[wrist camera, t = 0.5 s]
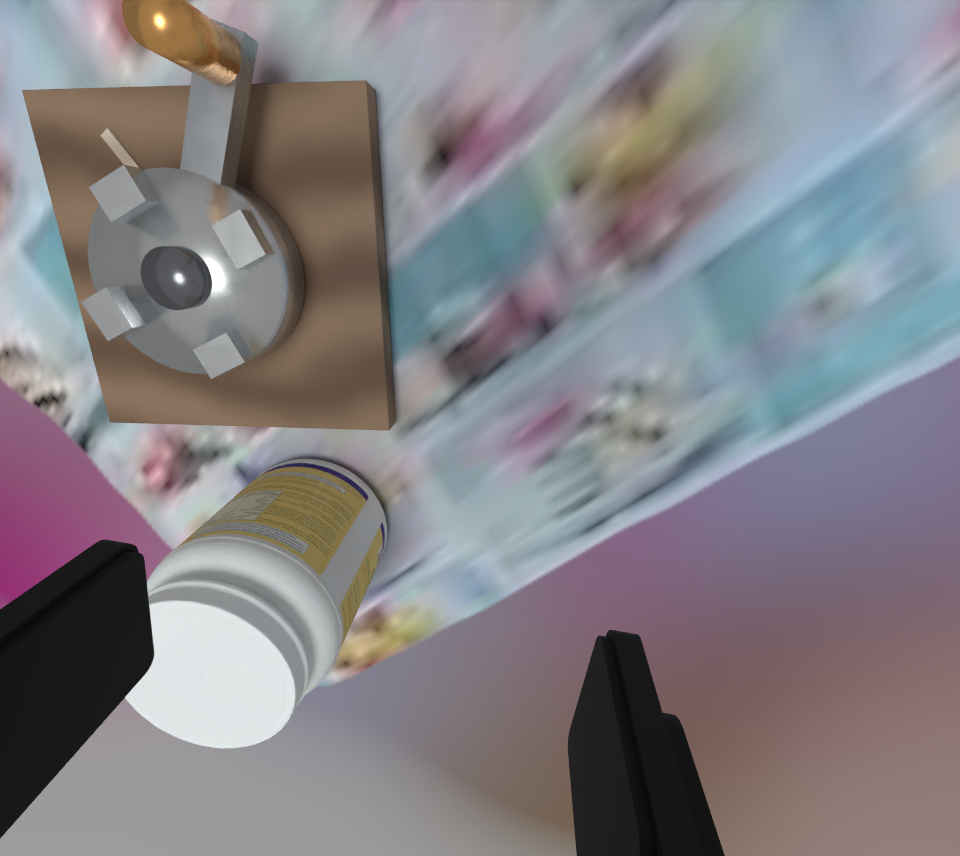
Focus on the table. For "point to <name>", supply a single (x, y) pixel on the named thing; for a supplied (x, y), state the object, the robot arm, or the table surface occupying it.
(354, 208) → the nut board
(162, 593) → the supplement tub
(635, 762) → the robot arm
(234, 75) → the silver and gold piece
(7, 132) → the table surface
